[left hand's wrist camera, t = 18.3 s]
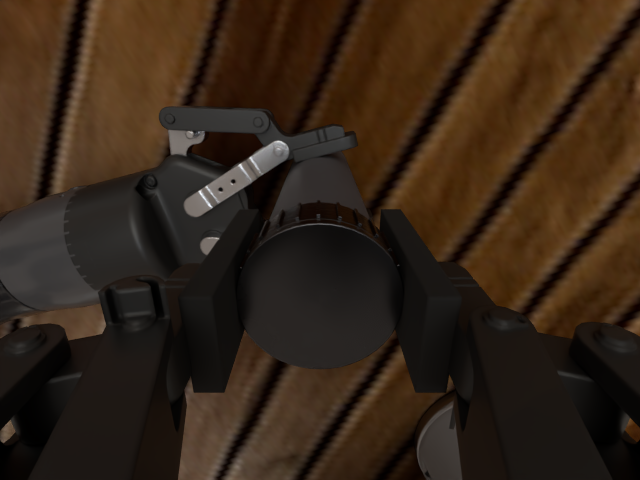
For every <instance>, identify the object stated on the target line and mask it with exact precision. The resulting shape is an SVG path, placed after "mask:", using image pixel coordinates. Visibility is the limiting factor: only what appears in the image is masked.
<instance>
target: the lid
mask: <svg viewBox="0 0 640 480" xmlns="http://www.w3.org/2000/svg"><path fill="white" fill-rule="evenodd" d="M399 268H401V267H400V265H399V262H398V260H397V258H396V256H395V254H394V252H393V250H392V248H391V246H390V245H389V242H388V240H387V238H386V236H385V234H384V232H383V231H381V232H380V231H379V229H378V228H377V227H376V226H375V224H374V222H373V220H372V219H371V218H369V219H368V218H366V217H365V216H363V215H362V214H360V213H359V212H358V210H357V209H356V208H354V209H351V208H348V207H345V206H342V205H340V203H339V202H336V204H333V203H325V202H320V200H317V202H315V203H306V204H301V203H298V205H297V206H295V207H292V208H289V209H287V210H285V211H284V210H283V209H282V210H280V213H279V214H278V215H276V216H275V217H273V218H272V219H271V220H270V221H269V220H268V219H267V220H266V221H265V224H264V226H263V228H262V229H261V230H260V232H259V233H255V235H254V237H253V239H252V241H251V243H250V245H249V248H248V250H247V252H246V254H245V256H244V258H243V260H242V262H241V265H240V267H239V270H240V273H239V277H238V280H237V285H236V302H237V311H238V315H239V317H240V320H241V323H242V325H243V327H244V329H245V330H246V332H247V333H248V335H249V336H250V338H251V339H252V340H253V341H254V342H255V343H256V344H257V345H258V346H259V347H260V348H261V349H263V350H264V351H265V352H267V353H268V354H270V355H271V356H273V357H275V358H276V359H278V360H280V361H283V362H285V363H288V364H290V365H294V366H298V367H303V368H309V369H331V368H337V367H342V366H346V365H349V364H352V363H355V362H357V361H360V360H361V359H363V358H365V357H367V356H369V355H370V354H372V353H373V352H375V351H376V350H377V349H378V348H379V347H381V346H382V345H383V344H384V343H385V342H386V341H387V339H388V338H389V337H390V336H391V334H392V333H393V331H394V330H395V328H396V326H397V324H398V322H399V320H400V317H401V314H402V310H403V300H404V287H403V281H402V278H401V274H400V271H399Z"/></svg>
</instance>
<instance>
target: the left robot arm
mask: <svg viewBox="0 0 640 480" xmlns="http://www.w3.org/2000/svg"><path fill="white" fill-rule="evenodd" d="M381 231H383V232H384V234H385V236H386V238H387V240H388V242H389V245H390V246H391V248H392V250H393V252H394V254H395V256H396V258H397V260H398V262H399V265H400V267H401V268H399V271H400V274H401V278H402V281H403V287H404V300H403V310H402V314H401V317H400V320H399V322H398V324H397V326H396V328H395V330H396V333H397V336H398V339H399V342H400V346H401V349H402V352H403V355H404V358H405V361H406V364H407V367H408V370H409V374H410V377H411V380H412V383H413V386H414V389H415V392H416V393H446V390H447V384H448V378H449V374H450V377H451V379H452V381H453V383H454V385H455V387H456V391H454V392H452V393H450V394H448V395H446V396H445V397H443V398H442V399H440V400H439V401H437V402H436V403H435V404H434V405H433V406H432V407H431V408H430V409H429V410H428V411H427V412H426V413H425V414H424V416H423V417H422V419H421V420H420V422H419V424H418V426H417V429H416V432H415V438H414V446H415V451H416V455H417V458H418V462H419V465H420V468H421V470H422V472H423V474H424V476H425V478H426V479H427V480H640V440H639V441H638V442H636V441H635V440H634V439H632V438H631V437H630V436H629V435H628V433H627V432H626V431H625V428H626V426H627V423H628V421H629V419H630V418H631V419H632V420H633V421H634V422H635V423H636V424H637V425H638V426H639V427H640V337H639V336H638V335H636V334H634V333H632V332H630V331H627V330H625V329H623V328H622V327H619V326H616V325H611V324H608V323H598V322H587V323H581V324H580V325H578V326H577V327H576V329H575V332H574V335H573V338H572V339H569V338H564V337H558V336H553V335H548V334H543V333H539V332H537V331H536V329H535V327H534V325H533V324H532V323H531V322H530V320H529V319H528V318H526V317H525V316H523V315H522V314H520V313H519V312H516V311H514V310H511V309H509V308H505V307H500V306H496V305H495V304H494V302H493V301H492V300H491V299H490V298H489V296H488V295H487V294H486V293H485V292H484V290H483V289H482V288H481V287H479V285H478V283H477V282H476V281H475V280H474V279H473V277H472V276H471V275H470V274H469V273H468V271H467V270H466V269H465V268H463V267H461V266H459V265H458V264H456V263H454V262H437V261H436V259H435V258H434V256H433V255H432V254H431V252H430V251H429V249H428V248H427V246H426V245H425V244H424V242H423V241H422V239H421V238H420V236H419V235H418V234H417V232H416V231H415V229H414V228H413V227H412V225H411V224H410V222H409V221H408V219H407V218H406V217H405V215H404V214H403V212H402V211H401V209H381V218H380V232H381ZM259 232H260V220H259V209H239V211H238V212H237V213H236V215H235V216H234V218H233V219H232V221H231V222H230V223H229V225H228V226H227V228H226V229H225V231H224V232H223V233H222V235H221V236H220V238H219V239H218V241H217V242H216V243H215V245H214V246H213V248H212V249H211V251H210V252H209V253H208V255H207V256H206V258H205V259H204V260H203V262H202V263H186V264H185V265H183V266H181V267H179V268H178V269H176V270H174V271H173V273H172V274H171V275H170V276H169V277H168V279H167V281H165V282H164V280H163V279H162V278H160V277H158V276H153V275H136V276H130V277H125V278H122V279H119V280H116V281H114V282H112V283H110V284H108V285H106V286H104V287H103V288H102V289H101V290H100V291H99V292H98V295H99V299H100V303H101V307H102V310H103V314H104V318H105V322H106V328H105V330H104V332H103V333H102V334H100V335H96V336H90V337H85V338H80V339H74V340H69V341H68V339H67V336H66V332H65V329H64V328H63V327H61V326H60V325H56V324H40V325H31V326H29V327H23V328H20V329H18V330H17V331H15V332H12V333H10V334H8V335H6V336H4V337H2V338H1V339H0V430H1V429H2V428H3V427H4V426H5V425H6V424H7V423H8V422H9V421H10V419H11V422H12V424H13V426H14V429H15V431H16V432H15V433H14V434H13V435H12V437H11V438H10V439H9V440H7V441H6V442H5V443H4V444H3V443H2V442H1V441H0V480H178V474H179V466H180V457H181V449H182V441H183V433H184V424H185V416H186V408H187V403H186V397H185V392H184V389H185V387H186V385H187V382H188V380H189V378H190V376H191V379H192V385H193V391H194V393H224V392H225V389H226V386H227V382H228V379H229V376H230V373H231V370H232V367H233V364H234V361H235V358H236V354H237V351H238V348H239V345H240V342H241V339H242V336H243V333H244V330H245V329H244V327H243V325H242V323H241V320H240V317H239V315H238V311H237V302H236V285H237V280H238V277H239V273H240V270H239V267H240V265H241V262H242V260H243V258H244V256H245V254H246V252H247V250H248V248H249V245H250V243H251V241H252V239H253V237H254V235H255V233H259Z"/></svg>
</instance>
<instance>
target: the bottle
mask: <svg viewBox="0 0 640 480" xmlns="http://www.w3.org/2000/svg"><path fill="white" fill-rule="evenodd" d="M317 200H320V202H325V203H333V204H336V202H339V203H340V205H342V206H345V207H348V208H351V209H354V208H356V209H357V210H358V212H359V213H360V214H362V215H363V216H365V217H366V218H368V219H369V215H368V213H367V210H366V208H365V205H364V203H363V200H362V198H361V195H360V193H359V190H358V188H357V185H356V183H355V180H354V178H353V176H352V173H351V171H350V168H349V166H348V163H347V161H346V158H345V156H344V155H343V153H342V152H341V151H339V152H335V153H331V154H327V155H323V156H319V157H316V158H311V159H307V160H304V161H300V162H296V163H295V161H294V160H293V163H292V165H291V168H290V170H289V172H288V175H287V177H286V180H285V182H284V185H283V187H282V190H281V192H280V195H279V197H278V200H277V202H276V205H275V207H274V210H273V212H272V214H271V217H270V219H269V221H270V220H271V219H272V218H273V217H275V216H276V215H278V214H279V213H280V210H282V209H283V210H284V211H285V210H287V209H289V208H292V207H295V206H297V205H298V203H301V204H306V203H315V202H317Z"/></svg>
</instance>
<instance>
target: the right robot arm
mask: <svg viewBox="0 0 640 480" xmlns="http://www.w3.org/2000/svg"><path fill="white" fill-rule="evenodd" d="M159 120H160V123H161V124H162V126H163V127H164V128H166V129H168V133H169V142H170V151H171V155H170V156H168V157H167V158H166V159H165V160H164V161H163V162H162V163H161V164H160V165H159V166H158V167H156V168H152V169H148V170H145V171H141V172H137V173H134V174H130V175H126V176H122V177H119V178H115V179H111V180H107V181H104V182H100V183H96V184H92V185H89V186H79V187H74V188H71V189H70V190H68V191H66V192H62V193H59V194H55V195H51V196H48V197H45V198H43V199H40V200H38V201H36V202H33V203H31V204H29V205H27V206H24V207H21V208H18V209H15V210H11V211H7V212H3V213H0V325H1V324H3V323H5V322H7V321H11V320H15V319H19V318H23V317H27V316H32V315H36V314H40V313H45V312H49V311H53V310H58V309H66V308H78V307H86V306H91V305H95V304H100V299H99V295H98V292H99V291H100V290H101V289H102V288H103V287H104V286H106V285H108V284H110V283H112V282H114V281H116V280H119V279H122V278H125V277H130V276H136V275H153V276H158V277H160V278H162V279H163V280H164V282H165V281H167V279H168V277H169V276H170V275H171V274H172V273H173V271H174V270H176V269H178V268H179V267H181V266H183V265H185V264H186V263H202V262H203V260H204V259H205V258H206V256H207V255H208V253H209V252H210V251H211V249H212V248H213V246H214V245H215V243H216V242H217V241H218V239H219V238H220V236H221V235H222V233H223V232H224V231H225V229H226V228H227V226H228V225H229V223H230V222H231V221H232V219H233V218H234V216H235V215H236V213H237V212H238V211H239V209H258V208H257V206H256V205H255V203H254V194H253V188H252V185H251V183H252V182H254V181H255V180H256V179H258V178H259V177H260V176H262V175H263V174H265V173H266V172H268V171H269V170H271V169H273V168H274V167H276V166H277V165H279V164H280V163H282V162H284V161H287V160H291V159H294V161H295V163H296V162H300V161H304V160H307V159H311V158H316V157H319V156H323V155H327V154H331V153H335V152H339V151H343V150H346V149H350V148H354V147H356V146H358V143H357V138H356V133H355V132H354V131H349V132H345V133H344V128H343V126H342V125H337V124H331V125H327V126H323V127H319V128H316V129H312V130H308V131H304V132H301V133H297V134H287V133H285V132H284V131H283V130H282V129H281V128H280V127H279V125H278V124H277V122H276V121H275V119H274V115H273V114H272V112H271V111H269V110H267V109H255V108H231V107H207V106H172V107H165V108H163V109H162V110H161V111H160V113H159ZM209 132H229V133H254V134H255V135H256V136H257V138H258V139H259V140H260V142H261V143H262V145H263V146H264V147H262V148H260V149H259V150H257V151H256V152H254V153H252V154H251V155H249V156H248V157H246V158H245V159H243V160H242V161H240V162H239V163H237V164H236V165H234V166H232V167H231V168H230V167H228V166H225V165H222V164H220V163H217V162H215V161H212V160H209V159H207V158H204V157H202V156H199V155H196V154H194V153H192V147H193V146H194V145H195V144H199V143H201V142H204V141H206V140H207V138H208V137H209ZM366 210H367V213H368V215H369V218H371V219H372V220H373V216H372V213H371V211H370V209H368V208H366ZM259 220H260V230H261V229H262V228H263V226H264V224H265V221H266V220H263V218H262V215H261V212H260V211H259ZM373 222H374V221H373Z"/></svg>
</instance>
